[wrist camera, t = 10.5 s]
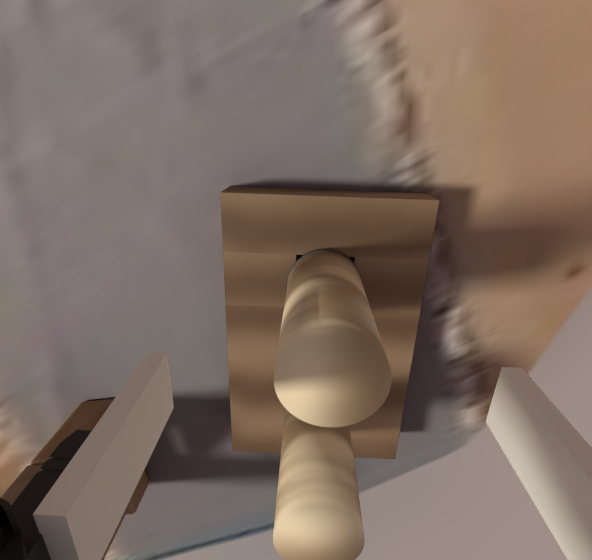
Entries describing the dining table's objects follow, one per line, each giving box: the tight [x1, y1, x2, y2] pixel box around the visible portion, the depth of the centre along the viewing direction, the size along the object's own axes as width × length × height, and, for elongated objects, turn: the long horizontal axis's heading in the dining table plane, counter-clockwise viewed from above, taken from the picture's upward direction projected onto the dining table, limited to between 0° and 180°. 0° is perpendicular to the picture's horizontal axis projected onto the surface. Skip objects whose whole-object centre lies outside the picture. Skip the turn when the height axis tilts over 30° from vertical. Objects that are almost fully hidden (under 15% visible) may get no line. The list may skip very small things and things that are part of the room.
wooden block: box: [1, 399, 149, 560], centre depth 28 cm, size 4×11×18 cm, turn 8°
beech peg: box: [274, 249, 392, 427], centre depth 22 cm, size 5×5×14 cm
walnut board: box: [221, 186, 439, 560], centre depth 24 cm, size 22×14×14 cm, turn 178°
